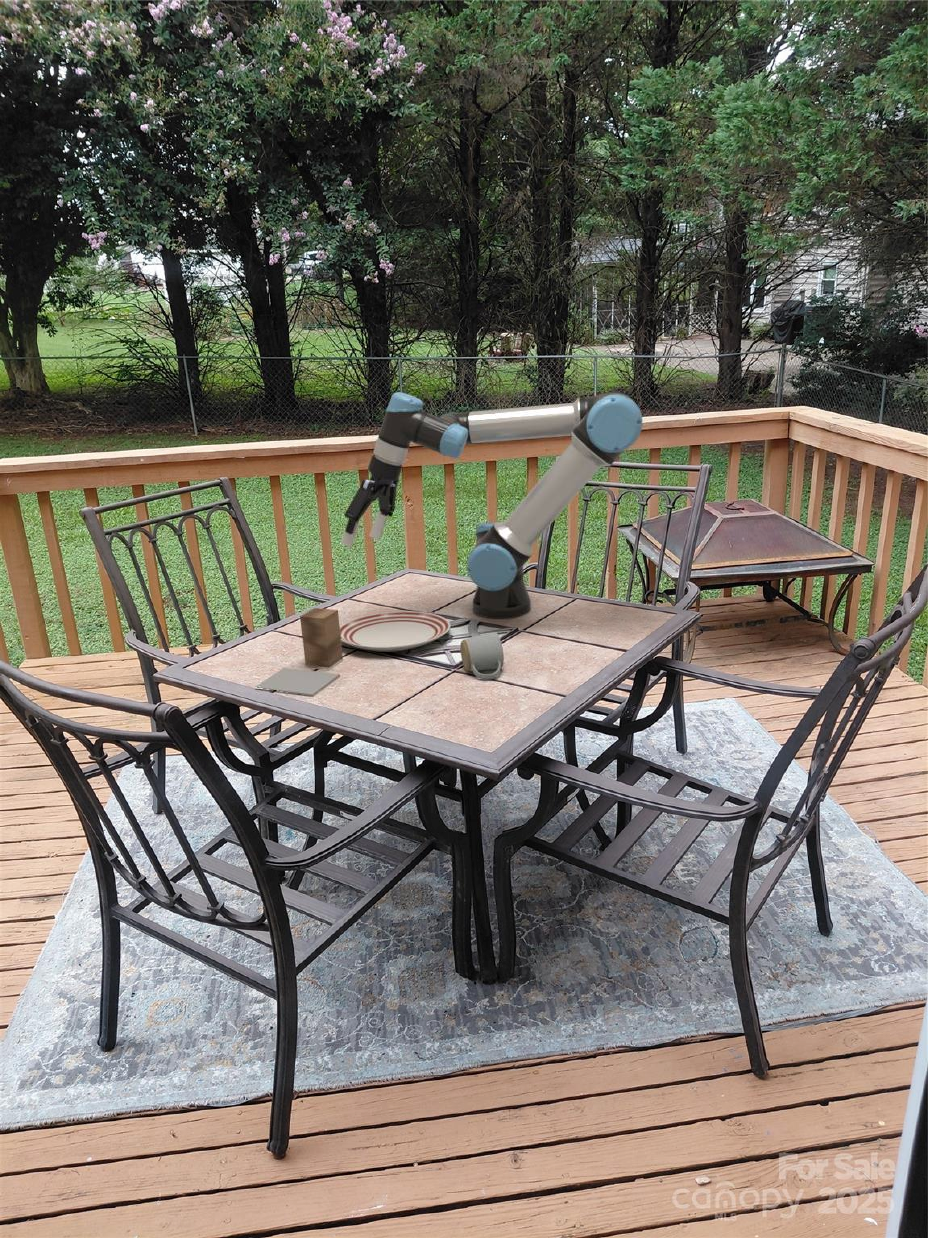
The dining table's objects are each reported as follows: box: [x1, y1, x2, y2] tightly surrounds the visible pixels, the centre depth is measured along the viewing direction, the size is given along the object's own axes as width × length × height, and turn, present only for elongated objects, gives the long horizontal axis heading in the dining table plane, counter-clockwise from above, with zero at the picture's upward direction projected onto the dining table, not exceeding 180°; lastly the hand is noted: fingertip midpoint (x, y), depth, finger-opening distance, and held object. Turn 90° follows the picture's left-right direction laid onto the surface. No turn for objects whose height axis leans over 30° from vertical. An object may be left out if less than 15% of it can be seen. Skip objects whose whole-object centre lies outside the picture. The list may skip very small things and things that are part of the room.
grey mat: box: [255, 667, 340, 697], centre depth 177 cm, size 14×11×1 cm
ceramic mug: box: [459, 632, 505, 681], centre depth 178 cm, size 11×8×8 cm
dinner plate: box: [339, 610, 451, 653], centre depth 200 cm, size 28×27×3 cm
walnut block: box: [299, 607, 344, 671], centre depth 185 cm, size 6×6×12 cm
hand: (360, 541), depth 203 cm, fingers open, 13 cm apart
